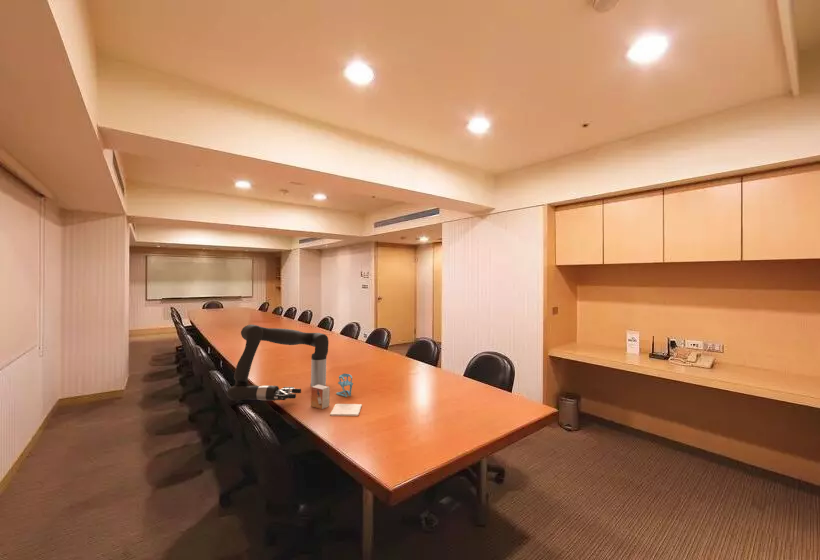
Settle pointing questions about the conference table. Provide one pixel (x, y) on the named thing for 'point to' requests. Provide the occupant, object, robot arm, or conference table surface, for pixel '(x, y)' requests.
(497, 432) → the conference table surface
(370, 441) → the conference table surface
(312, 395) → the small box
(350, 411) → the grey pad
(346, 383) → the chair
